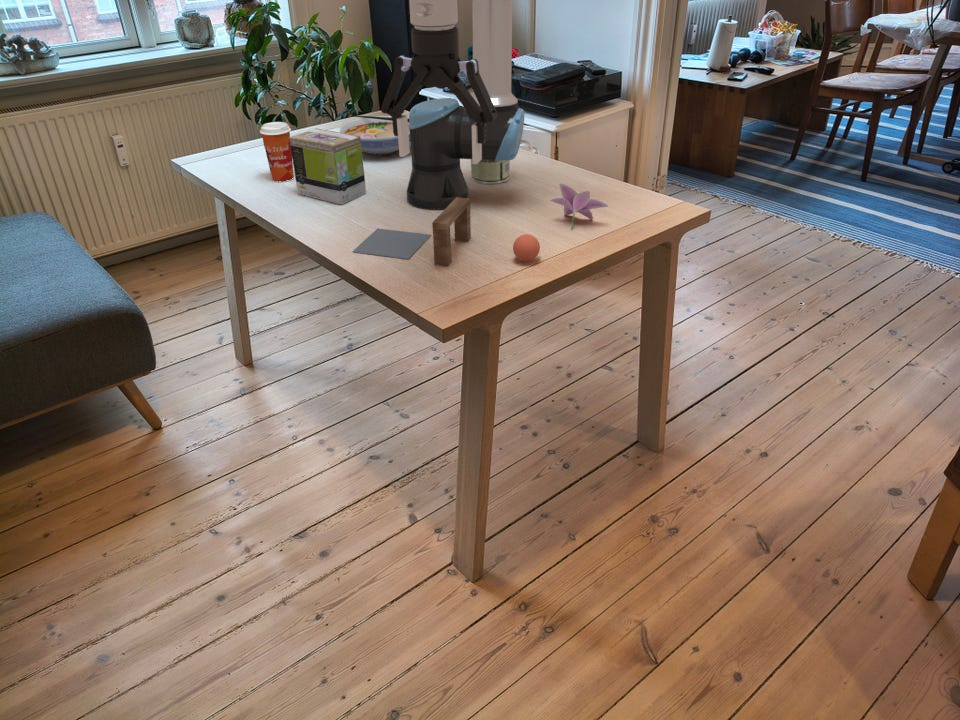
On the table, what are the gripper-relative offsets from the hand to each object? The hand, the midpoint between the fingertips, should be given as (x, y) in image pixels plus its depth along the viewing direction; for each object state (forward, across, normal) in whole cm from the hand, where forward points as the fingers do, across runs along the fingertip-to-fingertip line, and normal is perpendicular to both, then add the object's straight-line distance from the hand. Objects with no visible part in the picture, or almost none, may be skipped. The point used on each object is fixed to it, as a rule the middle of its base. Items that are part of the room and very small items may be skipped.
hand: (440, 158), depth 131 cm
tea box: (+26, -47, +40) cm, 67 cm away
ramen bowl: (+26, -50, +75) cm, 93 cm away
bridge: (+26, -5, +17) cm, 31 cm away
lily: (+26, +16, +40) cm, 50 cm away
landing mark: (+26, -19, +16) cm, 36 cm away
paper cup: (+26, -65, +46) cm, 84 cm away
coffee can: (+26, -12, +63) cm, 69 cm away
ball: (+23, +11, +17) cm, 31 cm away
